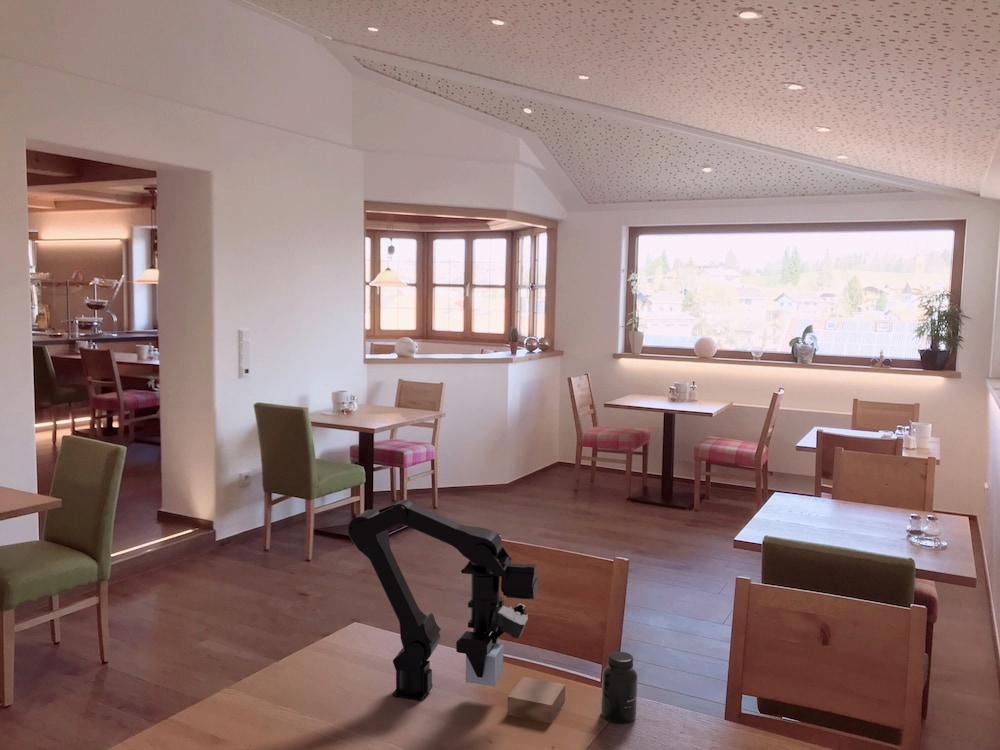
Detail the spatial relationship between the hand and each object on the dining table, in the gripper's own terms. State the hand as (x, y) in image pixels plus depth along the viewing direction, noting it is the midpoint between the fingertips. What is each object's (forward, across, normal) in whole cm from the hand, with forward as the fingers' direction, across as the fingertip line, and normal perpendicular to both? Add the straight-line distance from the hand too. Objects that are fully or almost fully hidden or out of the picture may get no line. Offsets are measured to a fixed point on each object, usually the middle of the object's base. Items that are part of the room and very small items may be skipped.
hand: (484, 670), depth 161 cm
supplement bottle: (+6, +2, -27) cm, 28 cm away
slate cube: (+2, 0, 0) cm, 2 cm away
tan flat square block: (+7, 0, -11) cm, 13 cm away
